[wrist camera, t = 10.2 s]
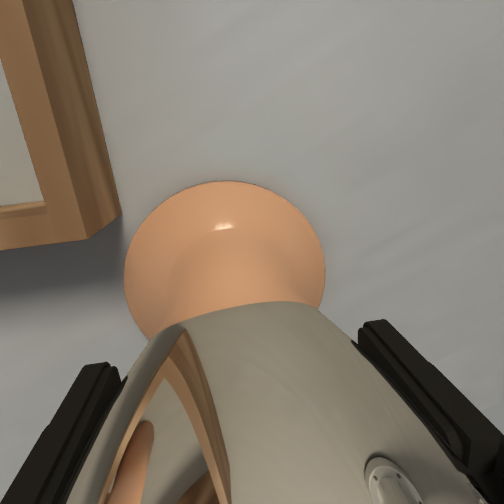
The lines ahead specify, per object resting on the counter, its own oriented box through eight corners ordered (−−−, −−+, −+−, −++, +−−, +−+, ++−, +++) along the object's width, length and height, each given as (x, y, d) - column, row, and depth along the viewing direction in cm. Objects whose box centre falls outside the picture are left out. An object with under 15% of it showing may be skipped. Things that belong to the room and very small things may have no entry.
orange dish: (316, 169, 16) (322, 170, 15) (323, 344, 19) (328, 352, 18) (106, 193, 15) (100, 196, 14) (149, 372, 18) (147, 382, 17)
